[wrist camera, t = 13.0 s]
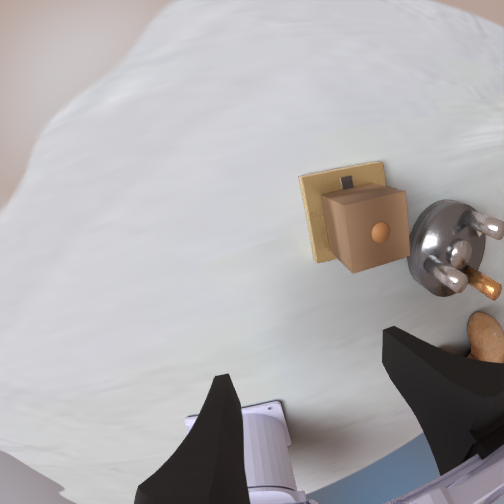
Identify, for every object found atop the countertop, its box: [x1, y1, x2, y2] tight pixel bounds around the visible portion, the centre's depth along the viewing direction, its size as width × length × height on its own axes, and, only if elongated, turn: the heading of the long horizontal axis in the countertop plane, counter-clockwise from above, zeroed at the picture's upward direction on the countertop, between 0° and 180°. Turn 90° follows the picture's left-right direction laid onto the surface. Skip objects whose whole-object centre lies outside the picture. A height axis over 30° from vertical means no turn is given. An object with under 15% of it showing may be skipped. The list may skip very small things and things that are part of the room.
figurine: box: [445, 312, 504, 363], centre depth 22 cm, size 11×9×15 cm
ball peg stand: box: [407, 200, 504, 300], centre depth 19 cm, size 8×8×6 cm
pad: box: [298, 162, 386, 263], centre depth 20 cm, size 6×6×1 cm
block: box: [321, 183, 410, 273], centre depth 18 cm, size 4×4×4 cm
